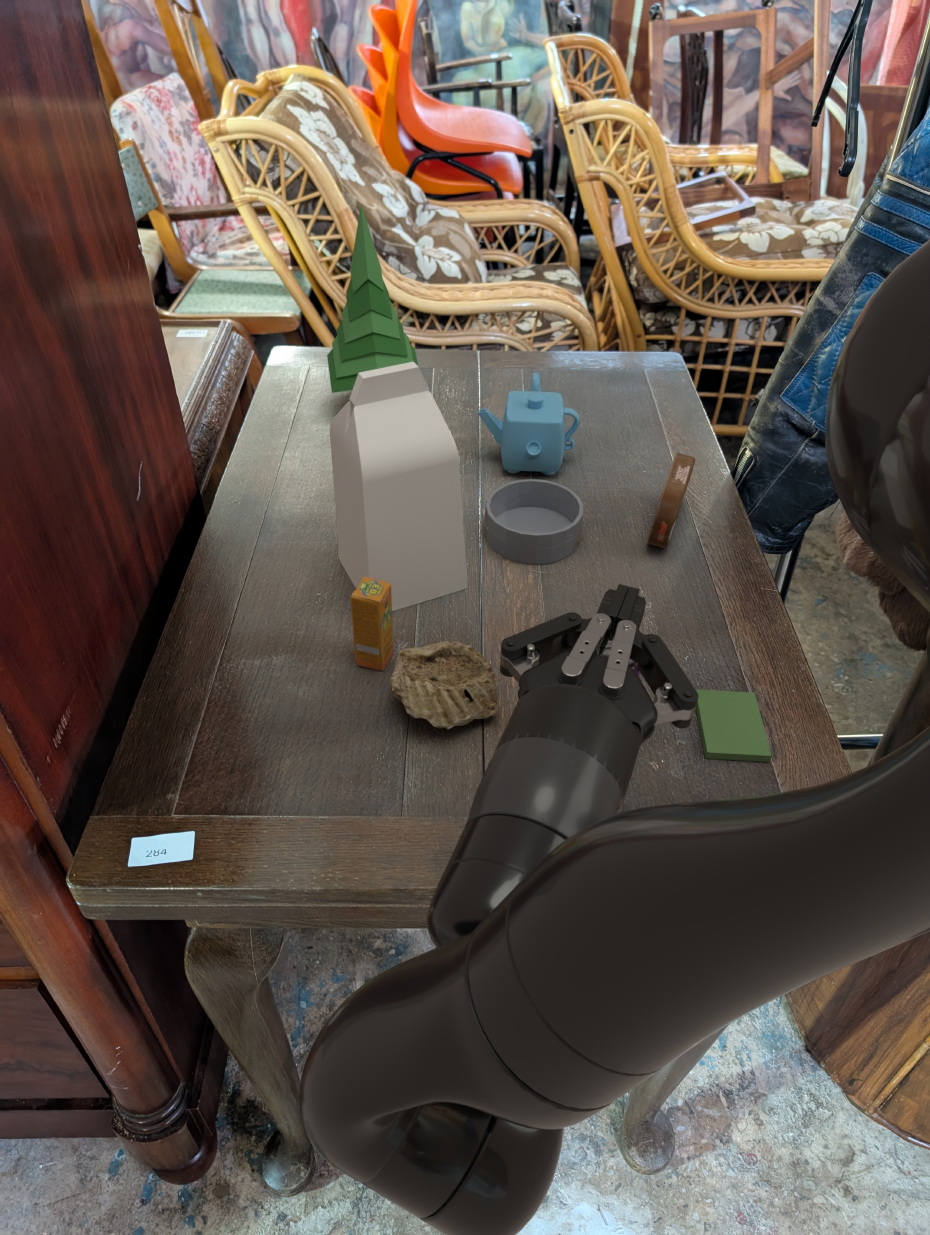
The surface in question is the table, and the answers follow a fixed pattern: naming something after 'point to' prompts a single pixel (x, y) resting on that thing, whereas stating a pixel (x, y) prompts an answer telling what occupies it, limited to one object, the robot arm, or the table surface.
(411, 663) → the seashell
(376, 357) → the decorative tree
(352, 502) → the milk
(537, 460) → the teapot
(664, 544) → the tin
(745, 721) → the green rectangular slab
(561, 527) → the pan
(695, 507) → the table surface
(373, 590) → the supplement box
